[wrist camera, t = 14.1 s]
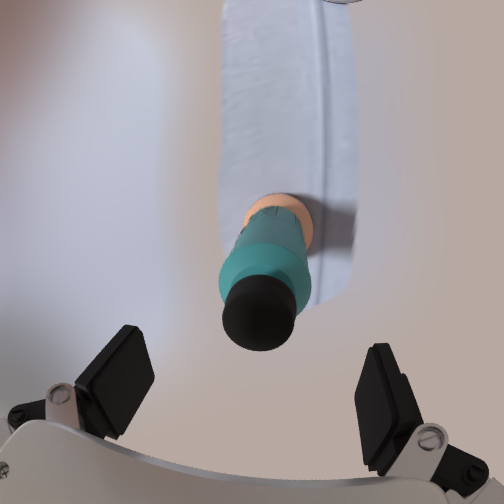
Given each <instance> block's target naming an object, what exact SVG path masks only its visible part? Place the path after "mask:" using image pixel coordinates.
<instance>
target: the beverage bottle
mask: <svg viewBox="0 0 504 504" xmlns="http://www.w3.org/2000/svg"><path fill="white" fill-rule="evenodd" d="M267 206H268V205H267ZM256 211H257V210H256ZM249 220H250V221H249ZM248 221H249V222H248V224H247V226H245V227H244V228H245V229H244V228H243V229H242V232H241V233H242V234H241V236H239V235H238V236H239V239H238V240H237V239H236V241H237V242H234V243H236V245H235V247H234V249H233V250H232V251H231V254H230V255H229V257H228V258H227V259H226V261H225V262H224V264H223V266H222V268H221V271H220V275H219V290H220V294H221V297H222V300H223V302H224V303H225V307H224V311H223V315H222V320H223V321H222V322H223V327H224V330H225V332H226V334H227V335H228V336H229V338H230V339H231V340H232V341H234V343H236V344H237V345H239V346H241V347H243V348H245V349H248V350H252V351H269V350H272V349H275V348H277V347H279V346H281V345H282V344H283V343H285V342H286V341H287V340H288V338H289V337H290V335H291V333H292V331H293V327H294V322H295V318H296V316H297V315H298V314H299V313H300V312H301V311H302V310H303V309H304V308H305V306H306V304H307V303H308V300H309V298H310V294H311V277H310V273H309V269H308V263H307V256H306V251H307V249H306V246H305V241H304V238H305V236H303V230H304V229H303V226H302V225H301V222H300V221H299V218H297V216H296V215H295V214H294V213H293V212H291V211H290V210H288V209H286V208H284V207H280V206H279V205H278V206H272V205H271V206H268V207H265V208H262V209H261V208H260V210H259V211H257V212H256V213H255V214H254V215H253V216H250V219H248ZM246 223H247V222H246ZM302 229H303V230H302ZM243 230H244V231H243ZM304 235H305V234H304ZM307 248H308V247H307Z"/></svg>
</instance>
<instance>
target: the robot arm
mask: <svg viewBox="0 0 504 504" xmlns="http://www.w3.org/2000/svg"><path fill="white" fill-rule="evenodd" d="M326 1H330V2H336V3H353V2H358V1H361V0H326ZM154 377H155V375H154V372H153V369H152V365H151V362H150V358H149V355H148V351H147V348H146V344H145V340H144V336H143V333H142V331H141V330H139V328H138V327H137V326H132V325H124V326H123V327H122V328H121V329H120V330H119V332H118V333H117V334H116V335H115V336H114V337H113V338H112V339H111V340H110V342H109V343H108V344H107V345H106V346H105V347H104V348H103V350H102V351H101V352H100V353H99V354H98V355H97V356H96V357H95V359H94V360H93V361H92V362H91V363H90V364H89V366H88V367H87V368H86V369H85V371H83V373H82V374H81V375H80V376H79V377H78V378H77V380H76V381H75V384H76V385H75V386H74V387H73V386H72V385H70V384H68V383H59V384H55V385H54V386H52V387H51V388H50V389H49V390H48V391H47V393H46V399H43V400H39V401H34V402H30V403H25V404H20V405H17V406H15V407H14V408H12V409H11V410H10V412H9V414H8V419H6V417H3V418H1V419H0V504H504V486H503V485H502V484H501V483H500V482H498V481H497V480H496V479H495V478H494V477H493V478H492V479H490V478H489V477H488V476H489V469H488V466H487V464H486V463H485V462H484V461H483V460H481V459H479V458H477V457H475V456H473V455H470V454H468V453H466V452H464V451H462V450H460V449H457V448H456V447H454V446H451V445H449V444H448V434H447V432H446V431H445V429H444V428H443V427H441V426H440V425H438V424H435V423H425V424H424V422H423V419H422V417H421V413H420V410H419V408H418V405H417V402H416V399H415V397H414V394H413V391H412V389H411V386H410V383H409V381H408V378H407V376H406V375H405V374H404V373H403V374H401V373H400V370H399V367H398V365H397V362H396V360H395V357H394V355H393V352H392V350H391V348H390V345H389V344H388V343H375V344H374V345H373V347H370V348H369V349H368V353H367V356H366V359H365V363H364V366H363V370H362V373H361V376H360V379H359V382H358V385H357V388H356V391H355V406H356V412H357V418H358V425H359V431H360V438H361V446H362V453H363V461H364V465H368V469H369V471H377V474H378V475H379V476H380V477H369V478H354V479H340V480H280V479H265V478H254V477H245V476H238V475H230V474H224V473H218V472H213V471H207V470H202V469H197V468H193V467H188V466H184V465H180V464H176V463H172V462H168V461H165V460H161V459H157V458H154V457H151V456H148V455H145V454H141V453H139V452H136V451H132V450H130V449H127V448H124V447H121V446H119V445H116V444H114V443H111V442H108V441H106V440H104V438H105V436H107V437H110V438H112V439H115V440H117V439H118V437H119V436H120V435H123V434H124V432H125V431H126V429H127V427H128V425H129V424H130V422H131V420H132V418H133V417H134V415H135V413H136V411H137V409H138V408H139V406H140V404H141V402H142V401H143V399H144V397H145V396H146V394H147V392H148V391H149V389H150V387H151V385H152V384H153V382H154Z"/></svg>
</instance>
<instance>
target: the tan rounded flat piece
mask: <svg viewBox="0 0 504 504" xmlns="http://www.w3.org/2000/svg"><path fill="white" fill-rule="evenodd" d="M267 205H268V206H271V205H272V206H278V205H279V206H280V207H284V208H286V209H288V210H290V211H291V212H293V213H294V214H295V215H296V216H297V218H299V221H300V222H301V225H302V226H303V229H304V230H303V229H302V230H303V236H305V238H304V241H305V246H306V249H308V248H309V246H310V244H311V242H312V238H313V231H314V230H313V222H312V219H311V216H310V214H309V211H308V209H307V208H306V206H305V205H304V204H303V203H302V202H301V201H300V200H299V199H297V198H296V197H294V196H292V195H289V194H285V193H273V194H269V195H266V196H264V197H262V198H261V199H259V200H258V201H257V202H256V203H255V204H254V205H253V206H252V207H251V208H250V210H249V211H248V213H247V215H246V217H245V220H244V224H243V228H244V227H245V226H247V224H248V222H249V221H250V220H249V221H248V219H250V216H253V215H254V214H255V213H256V212H257V211H259V210H260V208H261V209H262V208H265V207H268V206H267ZM256 210H257V211H256ZM246 222H247V223H246ZM244 229H245V228H244ZM243 231H244V230H243ZM304 234H305V235H304ZM307 247H308V248H307Z"/></svg>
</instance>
